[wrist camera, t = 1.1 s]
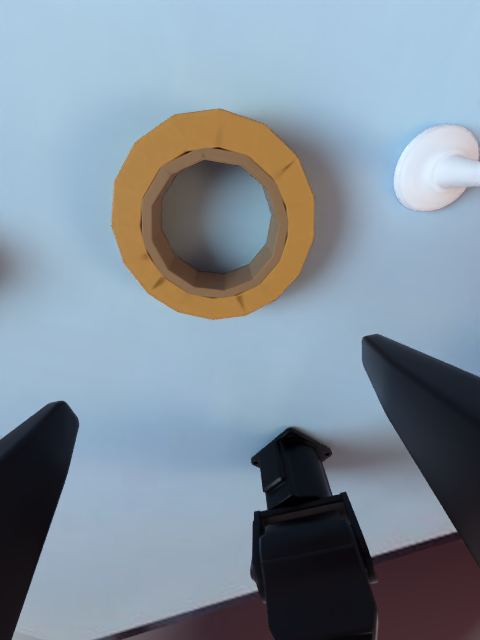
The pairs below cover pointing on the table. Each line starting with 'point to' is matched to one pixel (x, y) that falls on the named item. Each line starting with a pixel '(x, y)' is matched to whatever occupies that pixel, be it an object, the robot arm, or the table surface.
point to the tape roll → (154, 180)
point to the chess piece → (437, 168)
